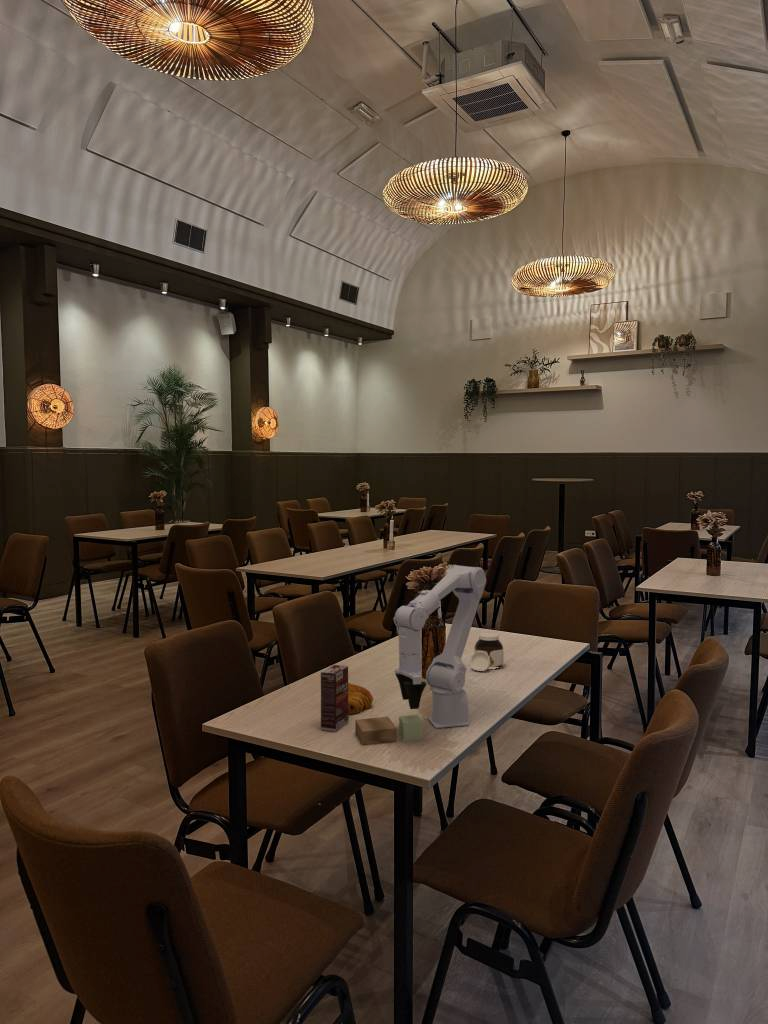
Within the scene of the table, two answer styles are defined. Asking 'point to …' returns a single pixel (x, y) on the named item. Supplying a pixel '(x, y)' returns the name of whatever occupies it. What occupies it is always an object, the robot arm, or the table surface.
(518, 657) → the table surface
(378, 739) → the block
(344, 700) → the supplement box
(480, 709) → the table surface
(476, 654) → the spread jar
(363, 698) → the croissant
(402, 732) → the cube
